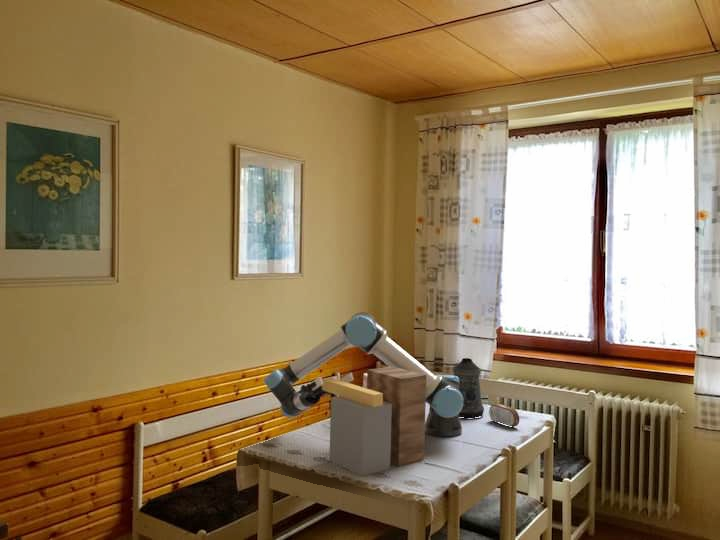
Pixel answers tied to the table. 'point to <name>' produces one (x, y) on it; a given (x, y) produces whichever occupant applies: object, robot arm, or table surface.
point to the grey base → (360, 436)
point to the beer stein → (469, 388)
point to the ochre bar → (353, 392)
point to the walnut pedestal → (403, 410)
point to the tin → (504, 414)
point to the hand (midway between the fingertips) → (337, 378)
